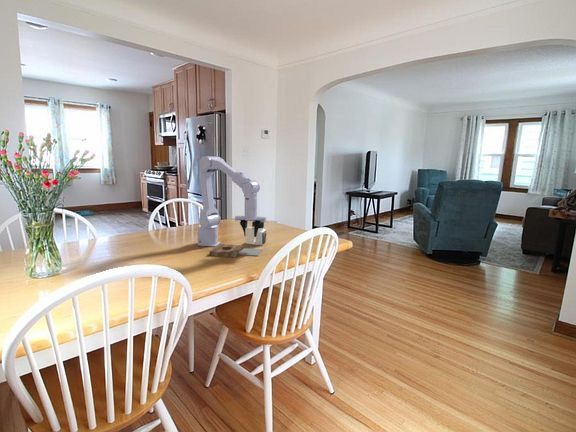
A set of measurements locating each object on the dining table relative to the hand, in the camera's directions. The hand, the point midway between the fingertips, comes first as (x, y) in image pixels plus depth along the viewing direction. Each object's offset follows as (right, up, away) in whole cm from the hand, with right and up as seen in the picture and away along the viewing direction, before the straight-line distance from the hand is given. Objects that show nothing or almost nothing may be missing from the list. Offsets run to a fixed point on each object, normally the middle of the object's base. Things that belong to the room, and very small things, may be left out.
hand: (250, 236), depth 147 cm
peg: (0, -3, 0) cm, 3 cm away
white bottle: (+2, -5, +17) cm, 18 cm away
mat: (0, -8, +1) cm, 8 cm away
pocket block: (-11, -8, +1) cm, 14 cm away
